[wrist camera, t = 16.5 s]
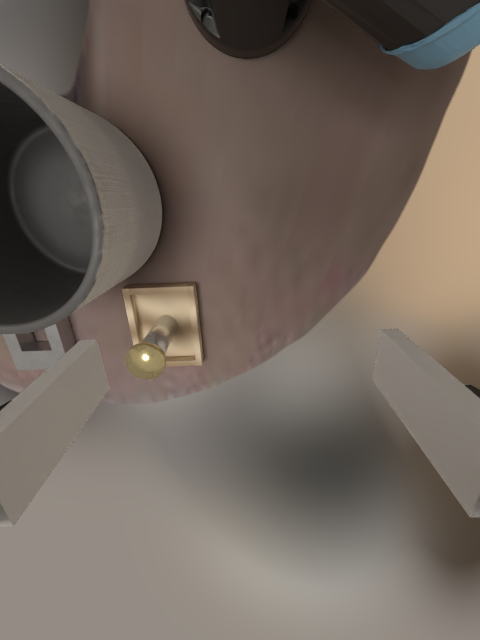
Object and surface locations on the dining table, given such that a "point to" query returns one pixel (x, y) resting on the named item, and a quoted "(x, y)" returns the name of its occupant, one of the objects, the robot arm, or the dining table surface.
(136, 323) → the tray
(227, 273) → the dining table surface
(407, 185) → the dining table surface
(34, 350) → the block
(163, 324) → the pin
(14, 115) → the planter
